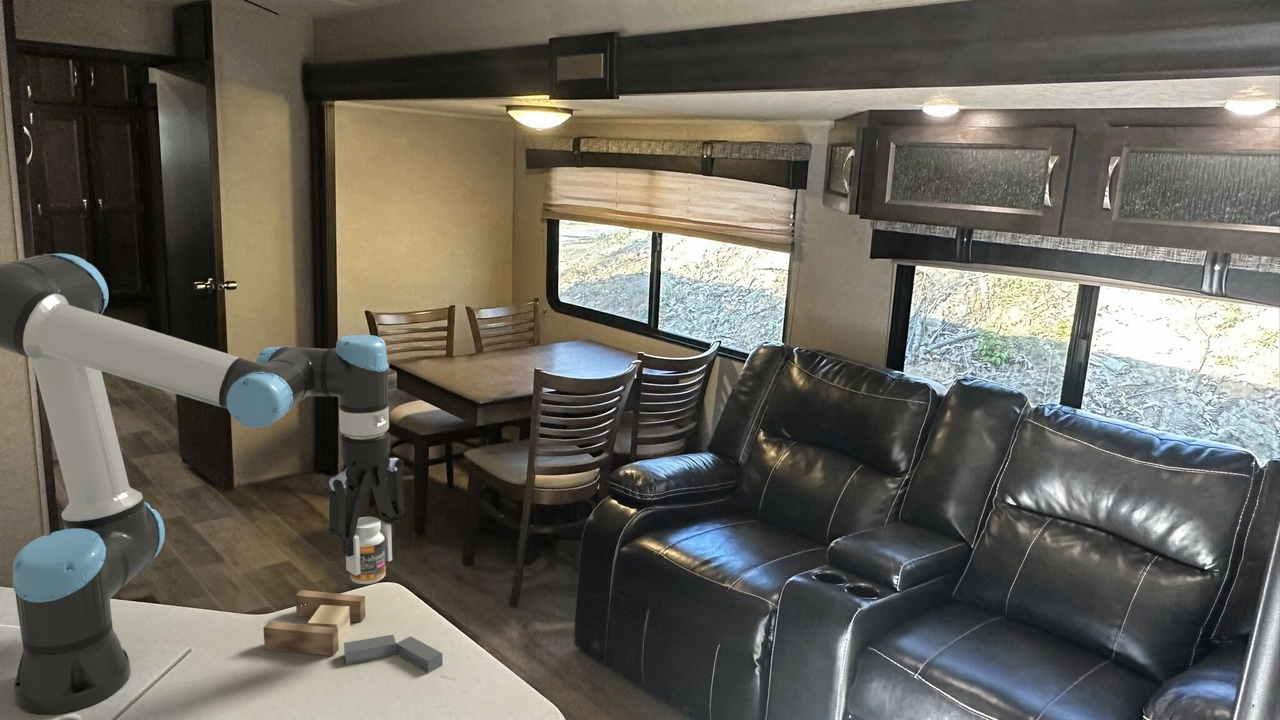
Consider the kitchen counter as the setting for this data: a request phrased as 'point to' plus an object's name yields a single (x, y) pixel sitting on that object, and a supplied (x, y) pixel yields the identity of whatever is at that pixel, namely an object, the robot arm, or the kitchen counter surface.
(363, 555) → the pill bottle
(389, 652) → the v block
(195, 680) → the kitchen counter surface
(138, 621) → the kitchen counter surface
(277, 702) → the kitchen counter surface
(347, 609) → the block
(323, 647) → the channel
